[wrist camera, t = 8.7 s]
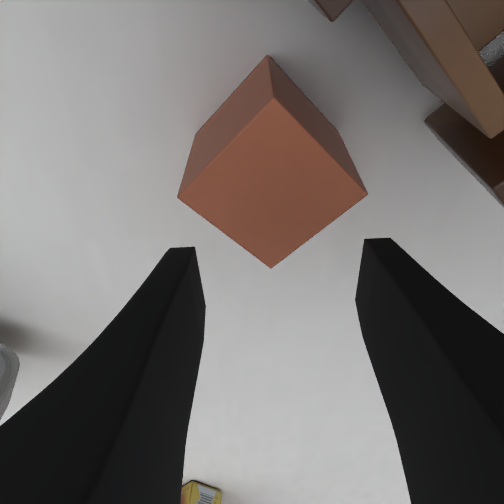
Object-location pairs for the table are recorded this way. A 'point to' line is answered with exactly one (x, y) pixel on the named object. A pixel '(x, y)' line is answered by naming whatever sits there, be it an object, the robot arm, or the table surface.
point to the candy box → (199, 494)
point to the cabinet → (331, 7)
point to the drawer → (455, 75)
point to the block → (269, 167)
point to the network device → (7, 375)
